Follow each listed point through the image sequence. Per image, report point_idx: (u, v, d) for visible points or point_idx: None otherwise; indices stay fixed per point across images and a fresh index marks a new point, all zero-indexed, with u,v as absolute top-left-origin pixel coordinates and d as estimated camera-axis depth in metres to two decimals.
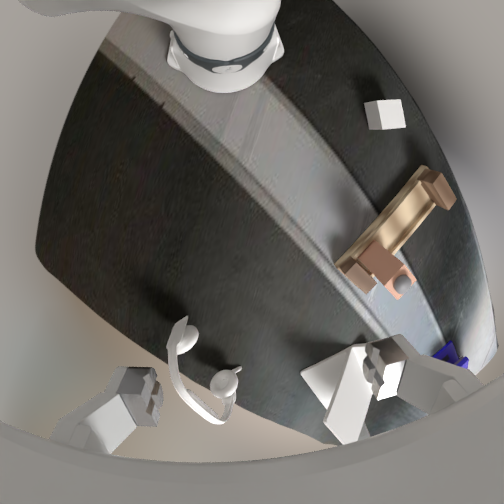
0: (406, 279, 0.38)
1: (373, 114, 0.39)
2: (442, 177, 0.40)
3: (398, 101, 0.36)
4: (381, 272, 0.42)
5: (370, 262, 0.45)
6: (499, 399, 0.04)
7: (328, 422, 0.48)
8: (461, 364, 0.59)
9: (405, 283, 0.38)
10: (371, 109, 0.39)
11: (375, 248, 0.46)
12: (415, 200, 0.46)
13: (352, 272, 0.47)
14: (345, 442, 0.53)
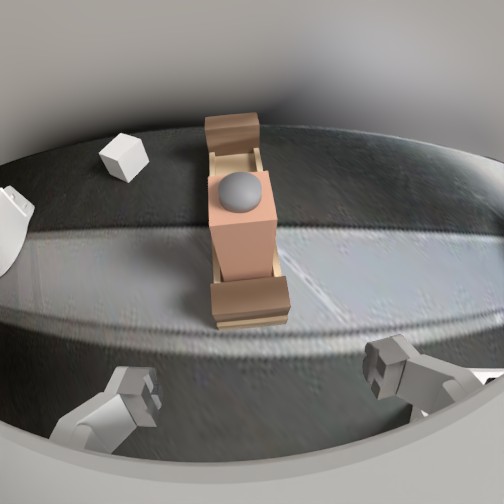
0: (230, 178, 0.19)
1: (112, 166, 0.37)
2: (211, 118, 0.34)
3: (119, 136, 0.37)
4: None
5: None
6: (499, 399, 0.04)
7: None
8: None
9: (237, 183, 0.19)
10: (109, 166, 0.37)
11: None
12: (231, 170, 0.36)
13: (221, 300, 0.25)
14: None
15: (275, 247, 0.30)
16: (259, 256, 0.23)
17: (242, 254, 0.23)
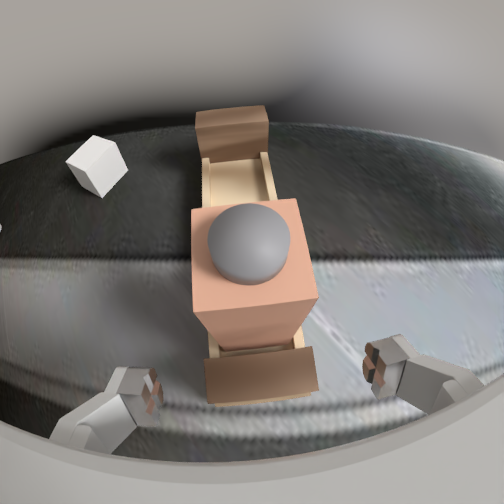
0: (230, 217, 0.11)
1: (81, 177, 0.28)
2: (204, 112, 0.26)
3: (91, 139, 0.28)
4: None
5: None
6: (499, 399, 0.04)
7: None
8: None
9: (243, 227, 0.10)
10: (78, 177, 0.29)
11: None
12: (231, 181, 0.27)
13: (219, 384, 0.16)
14: None
15: None
16: (277, 331, 0.15)
17: (252, 331, 0.14)
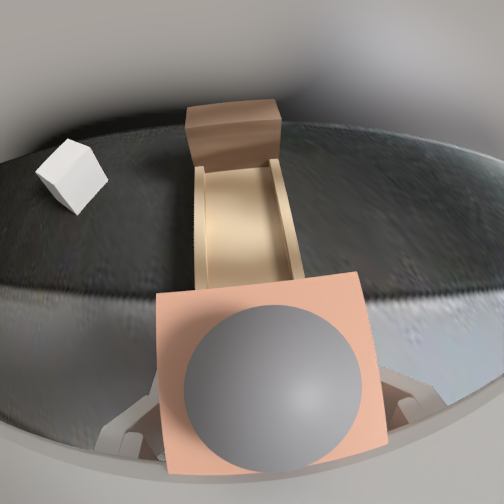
0: (233, 342, 0.05)
1: (53, 190, 0.22)
2: (198, 108, 0.20)
3: (64, 143, 0.22)
4: None
5: None
6: (499, 399, 0.04)
7: None
8: None
9: (262, 367, 0.04)
10: (50, 189, 0.23)
11: None
12: (232, 197, 0.21)
13: None
14: None
15: None
16: None
17: None
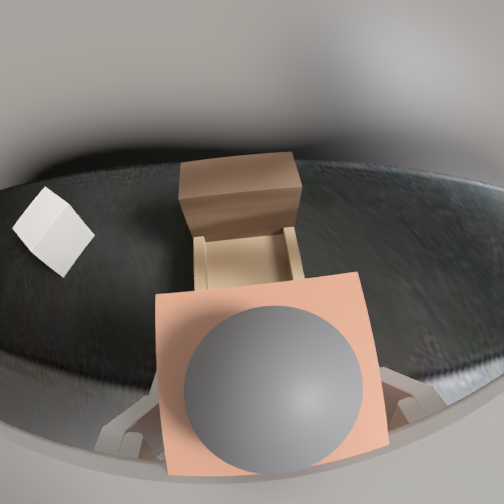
0: (233, 343, 0.04)
1: None
2: (194, 165, 0.16)
3: (42, 193, 0.19)
4: None
5: None
6: (499, 399, 0.04)
7: None
8: None
9: (263, 369, 0.04)
10: None
11: None
12: (240, 279, 0.18)
13: None
14: None
15: None
16: None
17: None
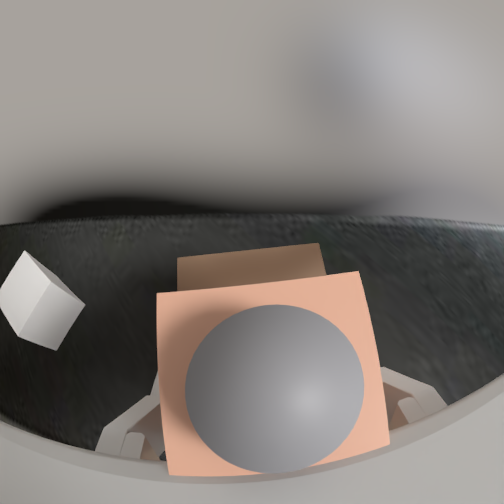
0: (234, 341, 0.04)
1: None
2: (194, 262, 0.13)
3: (22, 258, 0.16)
4: None
5: None
6: (499, 399, 0.04)
7: None
8: None
9: (264, 367, 0.04)
10: None
11: None
12: None
13: None
14: None
15: None
16: None
17: None
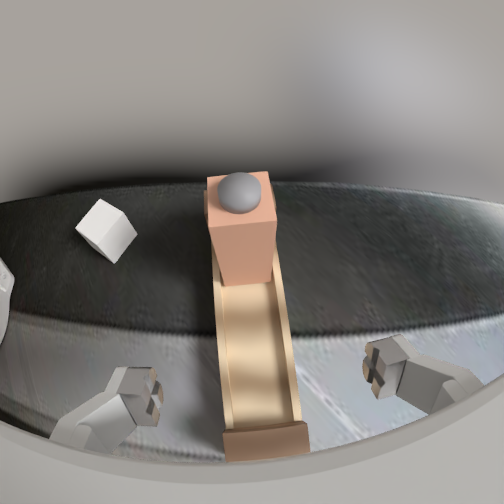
0: (229, 179, 0.19)
1: (92, 244, 0.31)
2: None
3: (98, 203, 0.31)
4: None
5: None
6: (499, 399, 0.04)
7: None
8: None
9: (236, 183, 0.19)
10: (89, 242, 0.31)
11: None
12: None
13: (235, 451, 0.18)
14: None
15: (295, 379, 0.23)
16: (259, 257, 0.23)
17: (242, 255, 0.23)
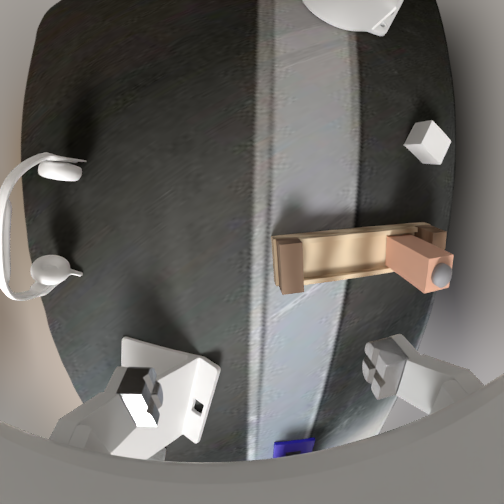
0: (449, 271, 0.28)
1: (419, 131, 0.34)
2: (444, 237, 0.35)
3: (448, 140, 0.33)
4: (423, 251, 0.31)
5: (406, 243, 0.35)
6: (499, 399, 0.04)
7: None
8: None
9: (446, 275, 0.28)
10: (420, 127, 0.34)
11: (413, 238, 0.37)
12: None
13: (289, 250, 0.36)
14: None
15: (327, 280, 0.40)
16: (404, 270, 0.35)
17: (408, 263, 0.34)
